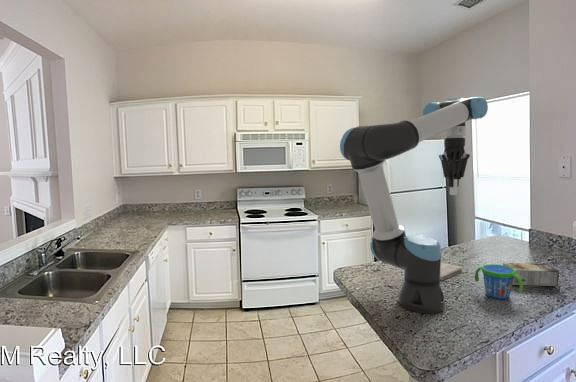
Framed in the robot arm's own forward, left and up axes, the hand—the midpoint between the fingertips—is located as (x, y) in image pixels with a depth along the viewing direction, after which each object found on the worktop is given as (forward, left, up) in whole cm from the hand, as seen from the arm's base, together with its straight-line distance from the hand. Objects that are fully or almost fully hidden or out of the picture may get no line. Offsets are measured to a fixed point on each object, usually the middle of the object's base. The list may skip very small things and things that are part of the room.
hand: (453, 194), depth 147 cm
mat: (+24, -12, -34) cm, 44 cm away
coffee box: (+15, -13, -31) cm, 37 cm away
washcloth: (-3, +4, -35) cm, 35 cm away
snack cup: (+2, -23, -35) cm, 42 cm away
